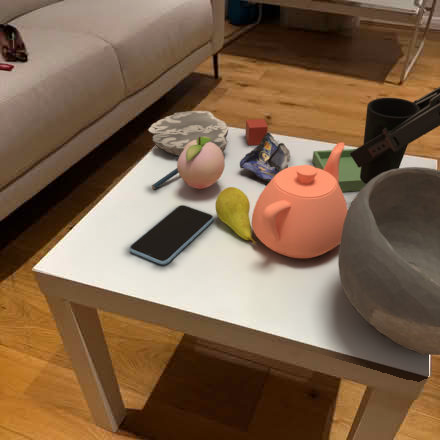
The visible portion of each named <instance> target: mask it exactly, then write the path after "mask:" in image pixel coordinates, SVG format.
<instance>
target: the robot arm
mask: <svg viewBox="0 0 440 440" xmlns="http://www.w3.org/2000/svg"><path fill="white" fill-rule="evenodd" d="M412 102H413V103H415V104H416V105H418V106H419V108H420V111H419V112H418V113H416V114H415V115H413V116H412V117H410V118H409V119H407V120H406V121H404V122H403V123H401V124H400V125H398V126H397V127H395V128H394V129H392V130H391V131H388V130H387V129H386V128H385V129H383V130H382V131H383V133H382V134H380V135H379V136H377V137H375V138H374V139H372V140H370V141H369V142H367V143H365V144H364V145H363V144H362V145H360V146H359V147H357V148H354V149H355V150H353V151H352V152H351V153H350V155H351V157H352V158H353V160H354V161H355V163H356V164H357V166H358V167H361V166H363V165H365V164H367V163H368V162H370V161H372V160H374V159H376V158H378V157H379V156H381V155H383V154H385V153H387V152H388V151H390V150H393V151H394V152H396V151H398V150H400V149H401V148H402V147H404V146H406V145H408V146H409V144H411V143H412V142H414V141H416V140H418V139H419V138H421V137H423V136H424V135H426V134H428V133H429V132H431V131H434V130H435V129H437V128H438V127H440V86H439V87H437V88H435V89H433V90H432V91H430V92H428V93H426V94H425V95H423V96H422V97H420V98H418V99H415V100H414V101H412Z"/></svg>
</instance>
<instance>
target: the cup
mask: <svg viewBox="0 0 440 440" xmlns="http://www.w3.org/2000/svg"><path fill="white" fill-rule="evenodd" d="M413 102H414V101H410V100H408V99H405V98H404V99H403V98H398V97H379V98H376V99H375V98H374V99H372V100H371V101H369V103H367V105H366V116H365V125H364V134H363V144H362V145H364V144H365V143H367V142H369V141H370V140H372V139H374V138H375V137H377V136H379V135H380V134H382V133H383V131H382V130H383V129H385V128H386V129H387V130H388V131H391V130H392V129H394V128H395V127H397V126H398V125H400V124H401V123H403V122H404V121H406V120H407V119H409V118H410V117H412V116H413V115H415V114H416V113H418V112H419V111H420V108H419V106H418V105H416V104H415V103H413ZM408 146H409V144H408V145H406V146H404V147H402V148H401V149H400V150H398V151H396V152H394V151H393V150H390V151H388V152H387V153H385V154H383V155H381V156H379V157H378V158H376V159H374V160H372V161H370V162H368V163H367V164H365V165H363V166H361V172H360V179H361V180H362V182H364V183H365V184H367V183H368V182H369V181H370V180H371V179H373V178H374V177H376V176H378V175H379V174H381V173H383V172H386V171H389V170H392V169H398V168H401V165H402V162H403V159H404V156H405V154H406V151H407V148H408Z"/></svg>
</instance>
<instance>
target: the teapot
mask: <svg viewBox="0 0 440 440" xmlns="http://www.w3.org/2000/svg"><path fill="white" fill-rule="evenodd" d="M345 146H346V145H345V142H343V141H341V142H338V143H336V144H335V146H334V147H333V148H332V149H331V150H332V152H331V154H330V156H329V159H328V161H327V163H326V165H325V167H324V169H323V170H321V169H319V168H315V166H314V165H310V164H301V165H293V166H288V167H286V168H285V169H284V170H282V171H280V172H279V173H278V174H277V175H276V176H275V177H274V178H273V179H272V180H271V181H270V182H268V183H267V185H266V186H265V187H264V189H263V190H262V191H261V192H260V194H259V196H258V198H257V200H256V202H255V205H254V208H253V212H252V217H251V229H252V231H253V233H254V234H255V236H256V237H257V238H258V240H259V241H260V242H261V243H262V244H263V245H265V246H266V247H267V248H268V249H270V250H271V251H273V252H275V253H277V254H280V255H282V256H286V257H288V258H293V259H312V258H315V257H318V256H321V255H323V254H326V253H327V252H329V251H331V250H333V249H335V248H336V247H337V246H338V245H340V242H341V236H342V230H343V224H344V221H345V218H346V215H347V211H348V205H347V201H346V198H345V196H344V192H342V191H341V188H340V186H339V184H338V183H339V161H340V157H341V154H342V152H343V149H345Z"/></svg>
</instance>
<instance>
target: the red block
mask: <svg viewBox="0 0 440 440" xmlns="http://www.w3.org/2000/svg"><path fill="white" fill-rule="evenodd" d="M268 128H269V127H268V125H267V122H266V120H265V119H264V118H257V119H256V118H255V119H246V120H245V140H246V143H247V145H248V146H258V145H259V144H260V143H261V141H262V139H263V137H264V136H265V134H267V133H268V130H269V129H268Z"/></svg>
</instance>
